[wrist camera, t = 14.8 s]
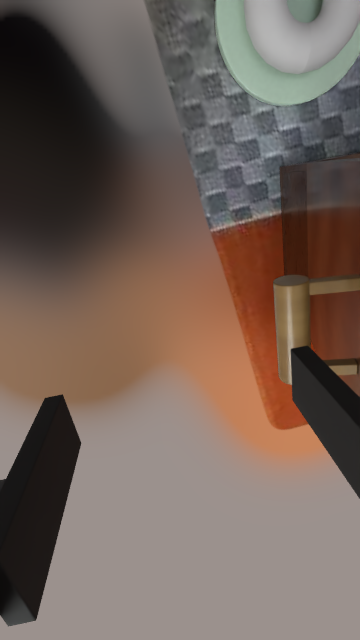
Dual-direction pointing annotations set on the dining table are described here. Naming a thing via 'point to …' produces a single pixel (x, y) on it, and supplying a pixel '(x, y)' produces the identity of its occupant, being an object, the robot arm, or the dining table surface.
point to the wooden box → (297, 214)
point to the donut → (300, 33)
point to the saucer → (265, 78)
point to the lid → (325, 276)
